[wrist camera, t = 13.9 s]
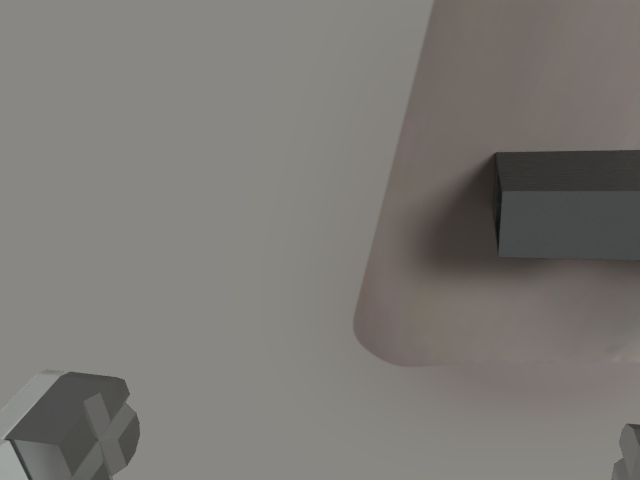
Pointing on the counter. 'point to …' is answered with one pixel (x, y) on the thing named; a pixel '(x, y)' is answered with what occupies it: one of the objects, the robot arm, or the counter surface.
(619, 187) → the sleeve
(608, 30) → the counter surface
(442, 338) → the counter surface
